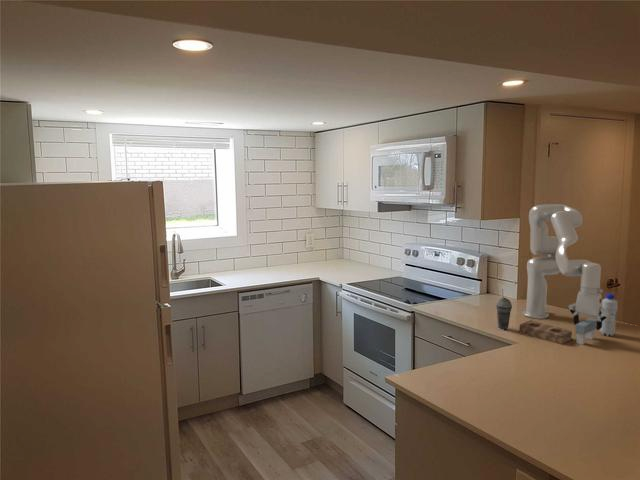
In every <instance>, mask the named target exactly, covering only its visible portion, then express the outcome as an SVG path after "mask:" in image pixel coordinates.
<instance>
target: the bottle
mask: <svg viewBox="0 0 640 480" xmlns="http://www.w3.org/2000/svg"><path fill="white" fill-rule="evenodd" d="M602 308H603V309H605V310H606V311H607V312H609V313H610V314H609V316H608V317H607V318H606V319H605V320H603V321H602V328H601V329H599V333H600V334H601V335H602V336H604V335H606V337H609V336H610V337H612V336H614V335H615V334H616V320H617V312H618V308H619V307H618V300H616V299H615V294H614V293H606V294H605V298H604V299H603V298H602ZM604 315H605V314H604V313H603V312H602V314H601V316H602V317H603V316H604Z"/></svg>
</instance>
